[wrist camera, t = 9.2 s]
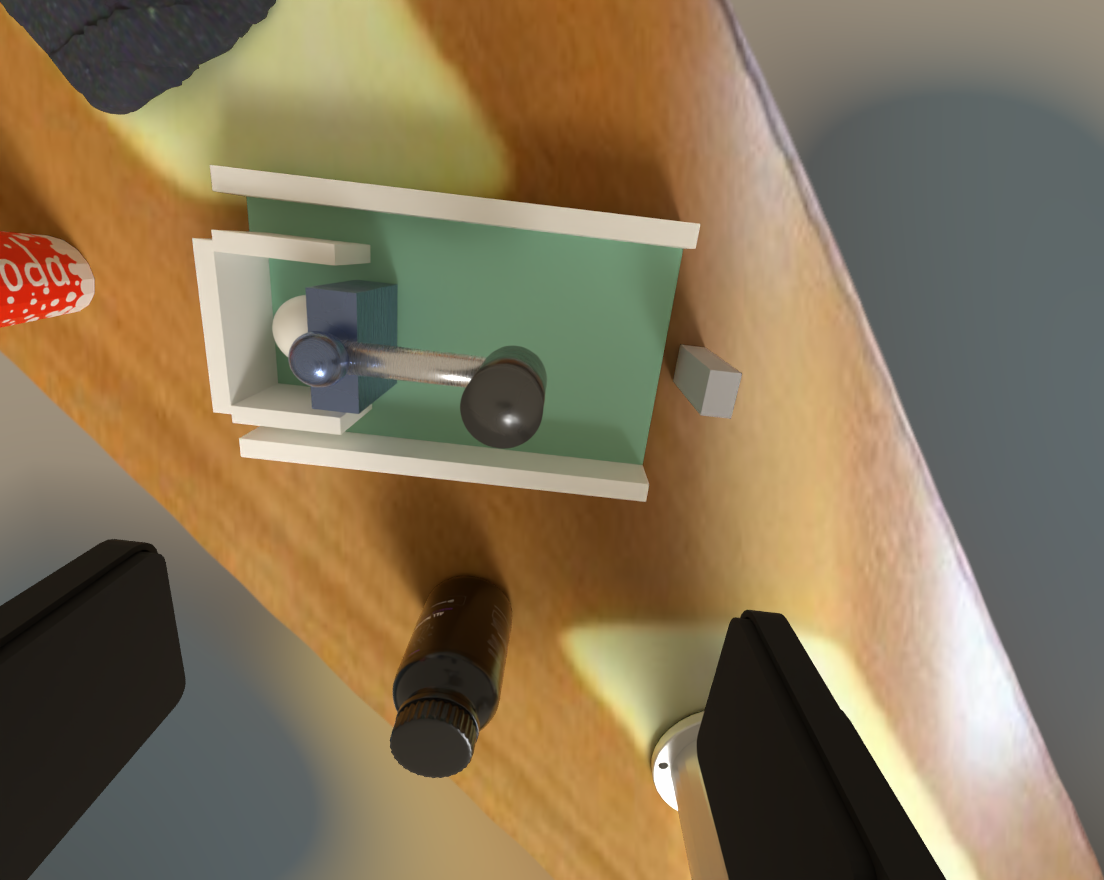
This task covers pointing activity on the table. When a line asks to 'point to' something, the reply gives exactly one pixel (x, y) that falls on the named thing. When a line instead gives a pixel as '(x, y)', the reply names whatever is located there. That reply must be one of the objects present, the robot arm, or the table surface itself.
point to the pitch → (455, 327)
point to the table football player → (410, 364)
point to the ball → (290, 322)
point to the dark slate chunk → (133, 42)
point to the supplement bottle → (450, 676)
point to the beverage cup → (41, 278)
